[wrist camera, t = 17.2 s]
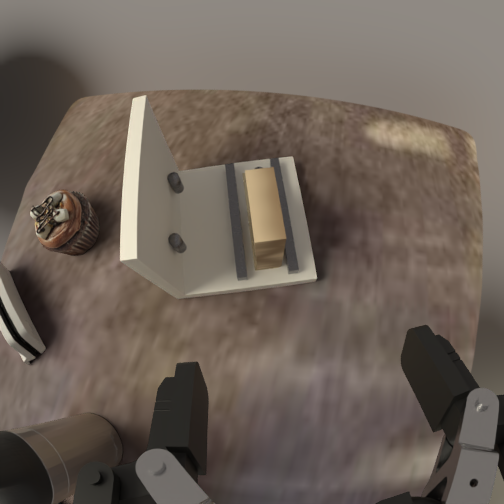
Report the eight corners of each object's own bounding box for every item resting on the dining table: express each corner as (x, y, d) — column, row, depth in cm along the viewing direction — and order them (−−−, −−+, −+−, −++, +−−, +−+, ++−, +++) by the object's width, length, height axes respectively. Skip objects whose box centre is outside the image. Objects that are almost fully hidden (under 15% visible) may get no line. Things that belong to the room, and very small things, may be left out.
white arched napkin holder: (-6, 288, 43) (-32, 260, 34) (12, 274, 45) (-11, 245, 37) (29, 367, 38) (0, 351, 30) (50, 352, 41) (24, 333, 32)
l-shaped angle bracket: (177, 298, 41) (120, 260, 24) (172, 179, 47) (133, 98, 30) (314, 281, 41) (348, 231, 24) (291, 163, 47) (301, 73, 30)
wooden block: (257, 269, 40) (254, 242, 30) (248, 204, 42) (243, 163, 33) (281, 266, 40) (286, 238, 30) (271, 202, 42) (272, 160, 33)
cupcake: (115, 229, 45) (83, 199, 35) (73, 274, 43) (34, 254, 33) (86, 193, 47) (55, 161, 37) (47, 234, 45) (11, 210, 36)
